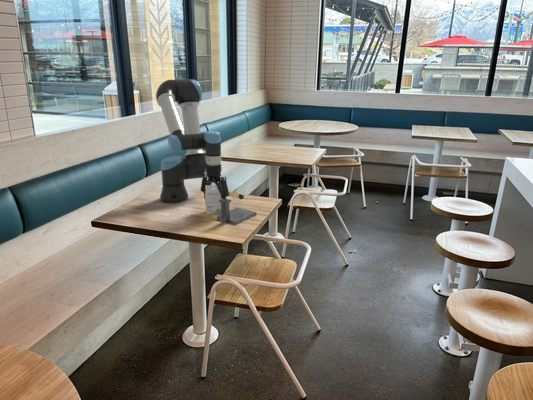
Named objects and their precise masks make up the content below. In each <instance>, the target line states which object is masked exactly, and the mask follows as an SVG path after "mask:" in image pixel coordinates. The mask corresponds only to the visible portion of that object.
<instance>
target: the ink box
mask: <svg viewBox="0 0 533 400" xmlns="http://www.w3.org/2000/svg"><path fill="white" fill-rule="evenodd" d="M205 190H206V191H205V198H206V206H205V211H206V212H205V213H206V214H209V215H221V206H220V202H219V200H220V197H221V194H220V192H219V190H218V187H217V185H212V184H211V185H210V186H208V185H206V186H205ZM223 195H224V194H223Z"/></svg>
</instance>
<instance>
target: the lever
mask: <svg viewBox="0 0 533 400" xmlns="http://www.w3.org/2000/svg"><path fill="white" fill-rule="evenodd" d="M228 197H231V198H236V199H240V200H244V198H245V195H244V194H243V193H237V192H232V191H229V196H228Z"/></svg>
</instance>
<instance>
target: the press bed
mask: <svg viewBox="0 0 533 400" xmlns="http://www.w3.org/2000/svg"><path fill="white" fill-rule="evenodd" d="M219 202H221V214H217V215H216V220H218V221H221V223H224V224H228V223H229V224H233V225H238V224H240V223H243V222H244V221H246V220H249V219H252V218H253V217H256V216H257V211H254V210H250V209H249V210H248V209H245V208H241V207H235V208H233V209H231V208H230V203H231V202H232V199H229V198H226V199H225V198H223V199H220V200H219ZM230 209H231V210H230Z"/></svg>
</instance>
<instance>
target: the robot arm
mask: <svg viewBox="0 0 533 400" xmlns="http://www.w3.org/2000/svg"><path fill="white" fill-rule="evenodd" d="M202 91H203V90H202V88H201V85H200V83H199V81H198V80H196V79H167V80H165V81H163V82H161V84H160V85H159V86H158V88H157V90H156V93H155V98H156V103H157V105H158V106H159V107H160V108H161V112H162V114H163V117H164V121H165V123H166V127H167V129H168V132H169V136H168V138H167V142H168V143H167V144H168V148H169V150H171V151H172V152H173V151H174V152H176V151H177V152H180V151H186V153H185V154H184V158H183V156H182V155H172V156H167V157H165V158H163V159H162V160H161V162H160V170H161V171H160V172H161V182H162V184H161V185H162V187H161V192H160V195H159V196H160V197H159V200H160V202H162V203H165V204H177V203H178V204H179V203H183V202H185V201H188V199H189V193H188V191H187V188H186V186H185V180H192V179H193V180H194V179H201V184H200V192H202V193H203V199H204V206H205V207H206V198H205V191H206V190H205V186H206V185H208V186H210V185H211V186H212V184H215V186H217V187H218V190H219V192H220V194H221V197H220V199H223V198H225V199H227V197H230V196H229V192H230V191H229V187H228V183H227V176H226V175H225V176H223V175H222V173H221V172H222V169H223V168H222V147H221V145H222V144H221V142H222V138H221V133H220V132H219V131H215V130H209V131H204V132H203V131H202V132H201V126H200V118H199V111H198V106H199V105H200V102H201V101H202V100H203V99H202V98H203V92H202ZM176 103H177V104H176ZM177 106H178V107H179V108H180V109H181V114H182V116H180V113H179V110H178V108H177ZM181 117H182V118H181ZM203 149H204V150H203ZM223 194H224V195H223ZM220 206H221V202H220Z"/></svg>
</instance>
